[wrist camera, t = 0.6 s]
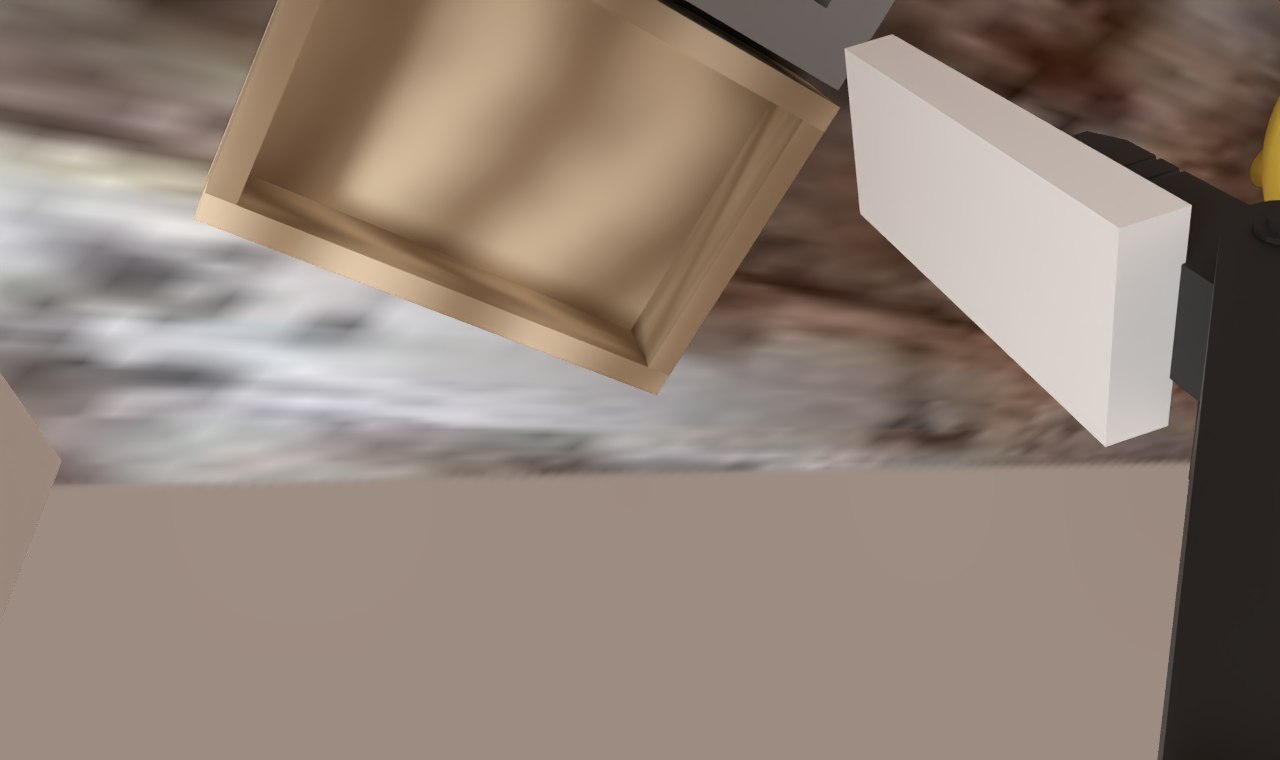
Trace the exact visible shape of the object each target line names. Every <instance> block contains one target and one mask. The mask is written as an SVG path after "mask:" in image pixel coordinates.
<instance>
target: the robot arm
mask: <svg viewBox="0 0 1280 760" xmlns="http://www.w3.org/2000/svg"><path fill="white" fill-rule="evenodd" d="M844 50H845V60H846V71H847V81H848V92H849V102H850V113H851V123H852V134H853V144H854V155H855V165H856V176H857V186H858V196H859V207H860V214H861V215H862V216H863V217H864V218H865V219H866V220H867V221H869V222H870V223H871V224H872V225H873V226H874V227H875V228H876V229H877V230H878V231H879V232H880V233H881V234H882V235H883V236H884V237H885V238H886V239H887V240H888V241H890V242H891V243H892V244H893V245H894V246H895V247H896V248H897V249H898V250H899V251H900V252H901V253H902V254H903V255H904V256H905V257H906V258H907V259H908V260H909V261H911V262H912V263H913V264H914V265H915V266H916V267H917V268H918V269H919V270H920V271H921V272H922V273H923V274H924V275H925V276H926V277H927V278H928V279H929V280H930V281H932V282H933V283H934V284H935V285H936V286H937V287H938V288H939V289H940V290H941V291H942V292H943V293H944V294H945V295H946V296H947V297H948V298H949V299H950V300H951V301H953V302H954V303H955V304H956V305H957V306H958V307H959V308H960V309H961V310H962V311H963V312H964V313H965V314H966V315H967V316H968V317H969V318H970V319H971V320H972V321H974V322H975V323H976V324H977V325H978V326H979V327H980V328H981V329H982V330H983V331H984V332H985V333H986V334H987V335H988V336H989V337H990V338H991V339H992V340H993V341H995V342H996V343H997V344H998V345H999V346H1000V347H1001V348H1002V349H1003V350H1004V351H1005V352H1006V353H1007V354H1008V355H1009V356H1010V357H1011V358H1012V359H1013V360H1014V361H1016V362H1017V363H1018V364H1019V365H1020V366H1021V367H1022V368H1023V369H1024V370H1025V371H1026V372H1027V373H1028V374H1029V375H1030V376H1031V377H1032V378H1033V379H1034V380H1035V381H1037V382H1038V383H1039V384H1040V385H1041V386H1042V387H1043V388H1044V389H1045V390H1046V391H1047V392H1048V393H1049V394H1050V395H1051V396H1052V397H1053V398H1054V399H1055V400H1056V401H1058V402H1059V403H1060V404H1061V405H1062V406H1063V407H1064V408H1065V409H1066V410H1067V411H1068V412H1069V413H1070V414H1071V415H1072V416H1073V417H1074V418H1075V419H1076V420H1077V421H1079V422H1080V423H1081V424H1082V425H1083V426H1084V427H1085V428H1086V429H1087V430H1088V431H1089V432H1090V433H1091V434H1092V435H1093V436H1094V437H1095V438H1096V439H1097V440H1098V441H1100V442H1101V443H1102V444H1103V445H1104V446H1105V447H1107V446H1110V445H1113V444H1116V443H1119V442H1122V441H1125V440H1128V439H1130V438H1133V437H1136V436H1139V435H1142V434H1145V433H1148V432H1151V431H1154V430H1157V429H1160V428H1163V427H1166V426H1168V421H1169V412H1170V402H1171V393H1172V384H1173V381H1174V382H1175V383H1176V384H1178V385H1179V386H1180V387H1181V388H1183V389H1184V390H1185V391H1186V392H1188V393H1189V394H1190V395H1191V396H1193V397H1194V398H1195V399H1196V400H1198V409H1197V417H1196V425H1195V433H1194V440H1193V448H1192V456H1191V464H1190V472H1189V486H1188V495H1187V505H1186V513H1185V522H1184V531H1183V539H1182V549H1181V558H1180V567H1179V575H1178V584H1177V593H1176V601H1175V611H1174V619H1173V628H1172V637H1171V645H1170V654H1169V663H1168V672H1167V681H1166V690H1165V699H1164V707H1163V716H1162V725H1161V734H1160V743H1159V751H1158V760H1280V200H1270V201H1265V202H1261V203H1257V204H1253V205H1247V204H1245V203H1243V202H1241V201H1240V200H1238V199H1236V198H1234V197H1232V196H1230V195H1228V194H1226V193H1225V192H1223V191H1221V190H1219V189H1217V188H1215V187H1213V186H1212V185H1210V184H1208V183H1206V182H1204V181H1202V180H1200V179H1198V178H1197V177H1195V176H1193V175H1191V174H1189V173H1187V172H1185V171H1184V172H1180V171H1179V168H1178V167H1176V166H1174V165H1172V164H1170V163H1169V162H1167V161H1165V160H1163V159H1158V160H1157V159H1156V156H1155V155H1154V154H1152V153H1150V152H1148V151H1146V150H1144V149H1142V148H1141V147H1139V146H1137V145H1135V144H1133V143H1131V142H1129V141H1127V140H1124V139H1119V138H1115V137H1110V136H1106V135H1101V134H1097V133H1092V132H1088V131H1086V132H1083V133H1080V134H1077V135H1073V136H1070V135H1068V134H1066V133H1064V132H1063V131H1061V130H1059V129H1057V128H1056V127H1054V126H1052V125H1050V124H1049V123H1047V122H1045V121H1043V120H1042V119H1040V118H1038V117H1036V116H1035V115H1033V114H1031V113H1029V112H1028V111H1026V110H1024V109H1022V108H1021V107H1019V106H1017V105H1015V104H1014V103H1012V102H1010V101H1008V100H1007V99H1005V98H1003V97H1001V96H1000V95H998V94H996V93H994V92H993V91H991V90H989V89H987V88H986V87H984V86H982V85H980V84H979V83H977V82H975V81H973V80H972V79H970V78H968V77H966V76H965V75H963V74H961V73H959V72H958V71H956V70H954V69H952V68H951V67H949V66H947V65H945V64H944V63H942V62H940V61H938V60H937V59H935V58H933V57H931V56H930V55H928V54H926V53H924V52H923V51H921V50H919V49H917V48H916V47H914V46H912V45H910V44H909V43H907V42H905V41H903V40H902V39H900V38H898V37H896V36H895V35H893V34H892V35H888V36H885V37H881V38H878V39H875V40H871V41H868V42H865V43H861V44H858V45H854V46H851V47H848V48H844ZM60 464H61V460H60V458H59V457H58V455H57V454H56V452H55V451H54V449H53V448H52V447H51V445H50V444H49V442H48V441H47V439H46V438H45V436H44V435H43V434H42V432H41V431H40V429H39V428H38V426H37V425H36V423H35V422H34V421H33V419H32V418H31V416H30V415H29V413H28V412H27V411H26V409H25V408H24V406H23V405H22V403H21V402H20V400H19V399H18V398H17V396H16V395H15V393H14V392H13V390H12V389H11V387H10V386H9V385H8V383H7V382H6V380H5V379H4V377H3V376H2V374H1V373H0V623H1V620H2V617H3V614H4V612H5V609H6V607H7V604H8V602H9V599H10V596H11V594H12V591H13V588H14V586H15V583H16V580H17V578H18V575H19V572H20V570H21V567H22V564H23V562H24V559H25V557H26V554H27V551H28V549H29V546H30V543H31V541H32V538H33V535H34V533H35V530H36V527H37V525H38V522H39V520H40V517H41V514H42V512H43V509H44V506H45V504H46V501H47V498H48V496H49V493H50V490H51V488H52V485H53V482H54V480H55V477H56V475H57V472H58V469H59V467H60Z"/></svg>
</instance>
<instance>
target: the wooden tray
mask: <svg viewBox="0 0 1280 760" xmlns="http://www.w3.org/2000/svg"><path fill="white" fill-rule="evenodd" d="M839 109H840V107H839V106H838V105H836V104H835V103H834V102H832V101H831V100H830V99H829V98H827V97H826V96H825V95H823V94H822V93H821V92H820V91H818V90H817V89H816V88H814V87H813V86H812V85H811V84H809V83H808V82H807V81H806V80H804V79H803V78H802V77H800V76H799V75H797V74H796V73H794V72H792V71H790V70H789V69H787V68H785V67H784V66H782V65H780V64H779V63H777V62H775V61H773V60H772V59H770V58H768V57H767V56H765V55H763V54H762V53H760V52H758V51H756V50H755V49H753V48H751V47H750V46H748V45H746V44H745V43H743V42H741V41H739V40H738V39H736V38H734V37H733V36H731V35H729V34H728V33H726V32H724V31H722V30H721V29H719V28H717V27H716V26H714V25H712V24H711V23H709V22H707V21H706V20H704V19H702V18H700V17H699V16H697V15H695V14H694V13H692V12H690V11H689V10H687V9H685V8H683V7H682V6H680V5H678V4H677V3H675V2H673V1H672V0H277V3H276V5H275V8H274V10H273V13H272V15H271V18H270V20H269V23H268V25H267V28H266V30H265V33H264V35H263V38H262V40H261V43H260V45H259V48H258V50H257V53H256V55H255V58H254V60H253V63H252V65H251V68H250V70H249V73H248V75H247V78H246V80H245V83H244V85H243V88H242V90H241V93H240V95H239V98H238V100H237V103H236V105H235V108H234V110H233V113H232V115H231V118H230V120H229V123H228V125H227V128H226V130H225V133H224V135H223V138H222V140H221V143H220V145H219V148H218V150H217V153H216V155H215V158H214V160H213V163H212V165H211V168H210V170H209V173H208V175H207V179H206V182H205V185H204V189H203V192H202V195H201V198H200V202H199V205H198V208H197V212H196V215H195V218H194V219H195V220H197V221H200V222H203V223H205V224H208V225H211V226H213V227H216V228H218V229H221V230H224V231H226V232H229V233H232V234H234V235H237V236H239V237H242V238H245V239H247V240H250V241H253V242H255V243H258V244H260V245H263V246H266V247H268V248H271V249H274V250H276V251H279V252H281V253H284V254H287V255H289V256H292V257H295V258H297V259H300V260H303V261H305V262H308V263H310V264H313V265H316V266H318V267H321V268H324V269H326V270H329V271H331V272H334V273H337V274H339V275H342V276H345V277H347V278H350V279H352V280H355V281H358V282H360V283H363V284H366V285H368V286H371V287H373V288H376V289H379V290H381V291H384V292H387V293H389V294H392V295H394V296H397V297H400V298H402V299H405V300H408V301H410V302H413V303H415V304H418V305H421V306H423V307H426V308H429V309H431V310H434V311H437V312H439V313H442V314H444V315H447V316H450V317H452V318H455V319H458V320H460V321H463V322H465V323H468V324H471V325H473V326H476V327H479V328H481V329H484V330H486V331H489V332H492V333H494V334H497V335H500V336H502V337H505V338H507V339H510V340H513V341H515V342H518V343H521V344H523V345H526V346H528V347H531V348H534V349H536V350H539V351H542V352H544V353H547V354H549V355H552V356H555V357H557V358H560V359H563V360H565V361H568V362H571V363H573V364H576V365H578V366H581V367H584V368H586V369H589V370H592V371H594V372H597V373H599V374H602V375H605V376H607V377H610V378H613V379H615V380H618V381H620V382H623V383H626V384H628V385H631V386H634V387H636V388H639V389H641V390H644V391H647V392H649V393H652V394H655V395H657V394H658V392H659V391H660V389H661V387H662V386H663V384H664V383H665V381H666V380H667V378H668V376H669V375H670V373H671V372H672V370H673V369H674V367H675V366H676V364H677V362H678V361H679V359H680V358H681V356H682V355H683V353H684V351H685V350H686V348H687V347H688V345H689V344H690V342H691V340H692V339H693V337H694V336H695V334H696V333H697V331H698V330H699V328H700V326H701V325H702V323H703V322H704V320H705V319H706V317H707V315H708V314H709V312H710V311H711V309H712V308H713V306H714V304H715V303H716V301H717V300H718V298H719V297H720V295H721V294H722V292H723V290H724V289H725V287H726V286H727V284H728V283H729V281H730V279H731V278H732V276H733V275H734V273H735V272H736V270H737V268H738V267H739V265H740V264H741V262H742V261H743V259H744V258H745V256H746V254H747V253H748V251H749V250H750V248H751V247H752V245H753V243H754V242H755V240H756V239H757V237H758V236H759V234H760V232H761V231H762V229H763V228H764V226H765V225H766V223H767V222H768V220H769V218H770V217H771V215H772V214H773V212H774V211H775V209H776V207H777V206H778V204H779V203H780V201H781V200H782V198H783V197H784V195H785V193H786V192H787V190H788V189H789V187H790V186H791V184H792V182H793V181H794V179H795V178H796V176H797V175H798V173H799V171H800V170H801V168H802V167H803V165H804V164H805V162H806V161H807V159H808V157H809V156H810V154H811V153H812V151H813V150H814V148H815V146H816V145H817V143H818V142H819V140H820V139H821V137H822V135H823V134H824V132H825V131H826V129H827V128H828V126H829V125H830V123H831V121H832V120H833V118H834V117H835V115H836V114H837V112H838V110H839Z"/></svg>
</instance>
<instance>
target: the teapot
mask: <svg viewBox="0 0 1280 760" xmlns="http://www.w3.org/2000/svg"><path fill="white" fill-rule="evenodd" d="M1250 179H1251V181H1252V183H1253V184H1254V185H1255V186H1257V187H1263V195H1264V202H1265V201H1270V200H1280V95H1279V97H1278V99H1277V101H1276V104H1275V106H1274V109H1273V111H1272V114H1271V116H1270V119H1269V123H1268V126H1267V130H1266V133H1265V139H1264V145H1263V149H1262V150H1261V151H1260V152H1259V153H1258V154H1257V156H1256V157H1255V159H1254V161H1253V163H1252V165H1251V169H1250Z"/></svg>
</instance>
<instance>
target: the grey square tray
mask: <svg viewBox="0 0 1280 760" xmlns="http://www.w3.org/2000/svg"><path fill="white" fill-rule="evenodd" d="M686 1H688V2H689V3H691V4H693V5H694V6H696V7H698V8H699V9H701V10H703V11H704V12H706V13H708V14H710V15H711V16H713V17H715V18H716V19H718V20H720V21H721V22H723V23H725V24H726V25H728V26H730V27H731V28H733V29H735V30H737V31H738V32H740V33H742V34H743V35H745V36H747V37H748V38H750V39H752V40H753V41H755V42H757V43H758V44H760V45H762V46H763V47H765V48H767V49H769V50H770V51H772V52H774V53H775V54H777V55H779V56H780V57H782V58H784V59H785V60H787V61H789V62H790V63H792V64H794V65H796V66H797V67H799V68H801V69H802V70H804V71H806V72H807V73H809V74H811V75H812V76H814V77H816V78H817V79H819V80H821V81H822V82H824V83H826V84H828V85H829V86H831V87H833V88H834V89H836V90H839V88H840V87H841V85H842V84H843V82H844V81H845V79H846V77H847V71H846V60H845V50H844V48H848V47H851V46H854V45H858V44H861V43H865V42H868V41H870V40H871V38H872V36H873V35H874V33H875V32H876V30H877V29H878V27H879V25H880V24H881V22H882V21H883V19H884V17H885V16H886V14H887V13H888V11H889V10H890V8H891V6H892V5H893V3H894V2H895V0H686Z"/></svg>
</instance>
